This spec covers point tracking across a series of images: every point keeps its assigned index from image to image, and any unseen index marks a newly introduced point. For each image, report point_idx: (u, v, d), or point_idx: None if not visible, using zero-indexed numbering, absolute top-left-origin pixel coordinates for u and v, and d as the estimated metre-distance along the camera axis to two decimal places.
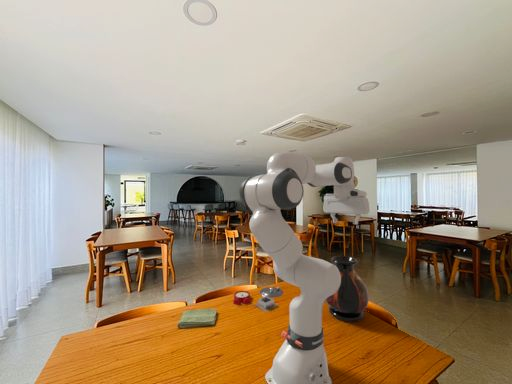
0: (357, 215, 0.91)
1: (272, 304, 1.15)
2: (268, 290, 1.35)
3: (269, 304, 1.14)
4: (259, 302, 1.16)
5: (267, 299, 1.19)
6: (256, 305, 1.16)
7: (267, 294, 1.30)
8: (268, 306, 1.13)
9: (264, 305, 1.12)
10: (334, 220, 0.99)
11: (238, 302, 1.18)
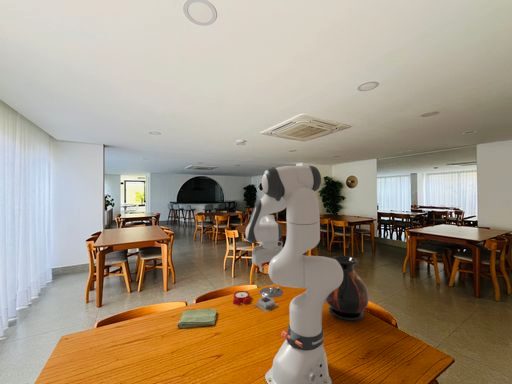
0: None
1: (272, 304, 1.15)
2: (268, 290, 1.35)
3: (269, 304, 1.14)
4: (259, 302, 1.16)
5: (267, 299, 1.19)
6: (256, 305, 1.16)
7: (267, 294, 1.30)
8: (268, 306, 1.13)
9: (264, 305, 1.12)
10: (262, 269, 1.13)
11: (238, 302, 1.18)
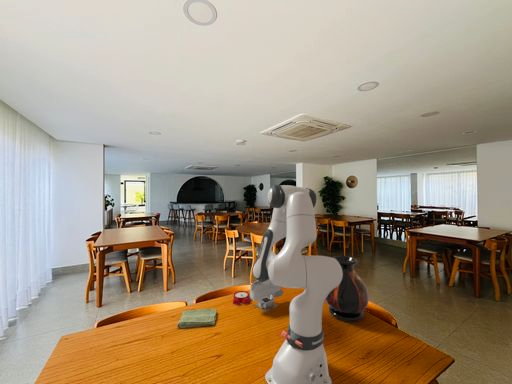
0: (273, 293, 1.19)
1: (272, 304, 1.15)
2: None
3: (269, 304, 1.14)
4: None
5: (267, 299, 1.19)
6: (256, 305, 1.16)
7: None
8: (268, 306, 1.13)
9: (264, 305, 1.12)
10: (261, 304, 1.13)
11: (238, 302, 1.18)
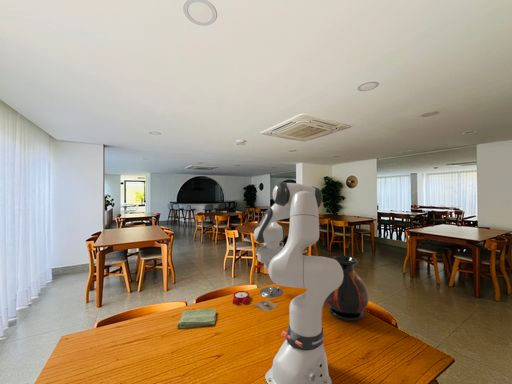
0: None
1: None
2: (268, 290, 1.35)
3: None
4: None
5: None
6: (256, 305, 1.16)
7: (267, 294, 1.30)
8: None
9: None
10: (267, 266, 1.30)
11: (237, 302, 1.18)
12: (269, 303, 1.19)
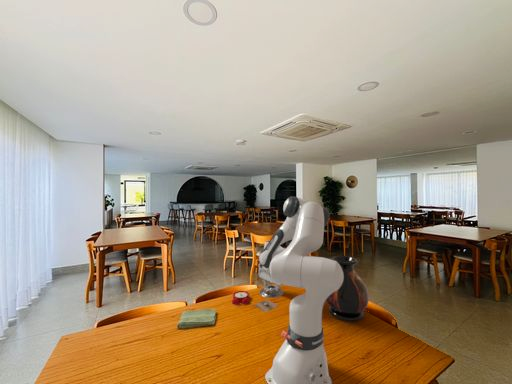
0: None
1: None
2: None
3: None
4: (273, 291, 1.29)
5: None
6: (256, 305, 1.16)
7: None
8: None
9: None
10: None
11: (237, 302, 1.18)
12: (269, 303, 1.19)
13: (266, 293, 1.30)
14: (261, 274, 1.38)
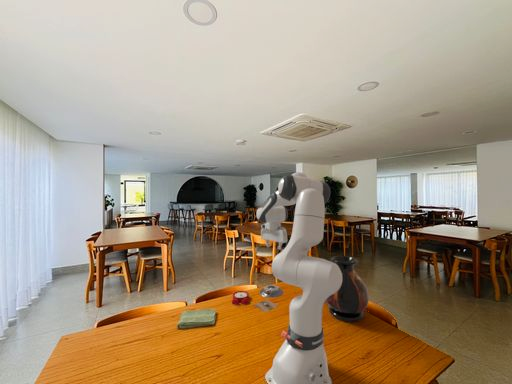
0: None
1: None
2: None
3: None
4: (273, 291, 1.29)
5: None
6: (256, 305, 1.16)
7: None
8: None
9: (277, 289, 1.32)
10: None
11: (237, 302, 1.18)
12: (269, 303, 1.19)
13: (266, 293, 1.30)
14: (263, 235, 1.38)
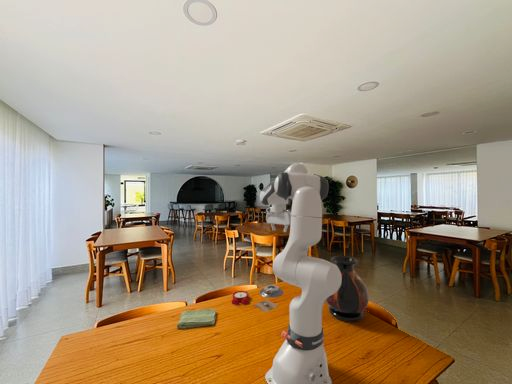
0: None
1: None
2: None
3: None
4: (273, 291, 1.29)
5: None
6: (256, 305, 1.16)
7: None
8: None
9: (277, 289, 1.32)
10: None
11: (236, 302, 1.18)
12: (269, 303, 1.19)
13: (266, 293, 1.30)
14: (269, 219, 1.38)
